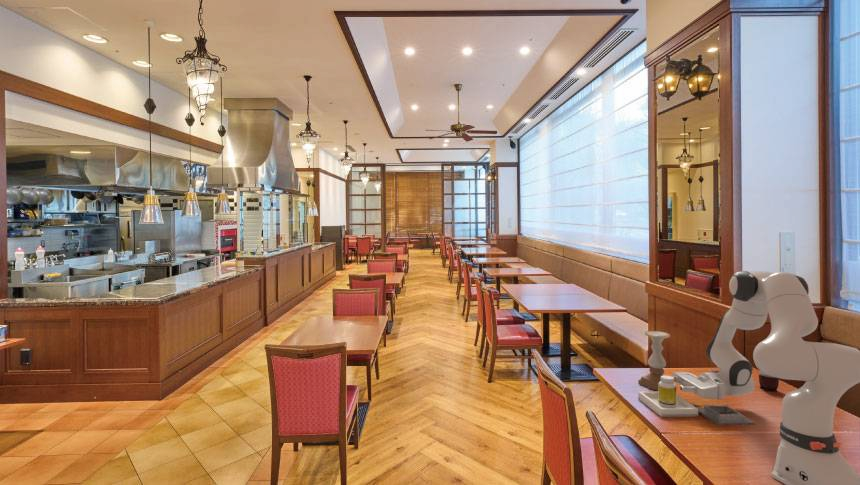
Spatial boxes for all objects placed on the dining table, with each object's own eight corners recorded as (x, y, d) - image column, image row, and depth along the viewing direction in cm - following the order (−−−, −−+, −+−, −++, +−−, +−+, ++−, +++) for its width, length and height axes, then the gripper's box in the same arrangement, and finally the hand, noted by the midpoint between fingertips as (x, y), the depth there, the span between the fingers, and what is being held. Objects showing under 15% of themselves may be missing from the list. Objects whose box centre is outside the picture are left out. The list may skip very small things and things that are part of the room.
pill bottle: (678, 408, 173) (678, 380, 173) (660, 407, 174) (661, 379, 174) (672, 402, 179) (673, 375, 179) (656, 401, 180) (656, 374, 180)
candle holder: (637, 383, 203) (638, 332, 203) (654, 380, 208) (654, 329, 207) (659, 391, 193) (659, 337, 193) (675, 387, 198) (676, 334, 197)
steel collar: (755, 424, 161) (755, 417, 161) (716, 424, 161) (717, 418, 161) (728, 408, 175) (728, 402, 175) (693, 409, 175) (693, 402, 175)
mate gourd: (780, 389, 195) (781, 356, 194) (776, 394, 190) (776, 359, 189) (759, 385, 201) (760, 352, 200) (754, 389, 195) (755, 355, 195)
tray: (698, 416, 168) (698, 408, 168) (661, 417, 168) (661, 409, 167) (671, 398, 186) (671, 391, 186) (638, 398, 186) (638, 391, 185)
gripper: (693, 367, 187) (660, 368, 187) (726, 385, 166) (689, 385, 166) (693, 382, 187) (660, 383, 187) (726, 401, 167) (689, 402, 166)
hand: (674, 384), depth 176 cm, fingers open, 8 cm apart
